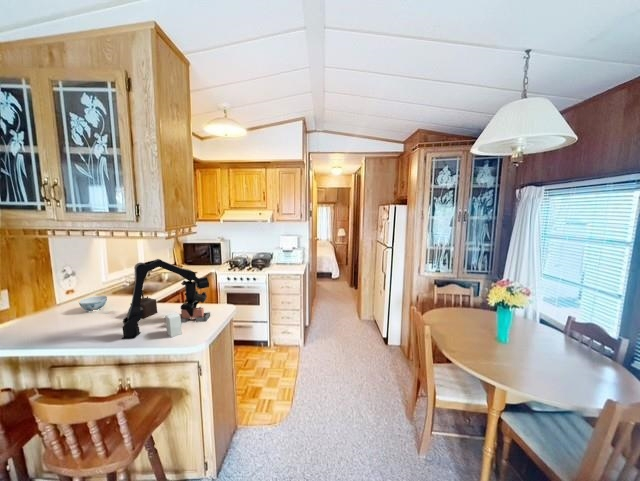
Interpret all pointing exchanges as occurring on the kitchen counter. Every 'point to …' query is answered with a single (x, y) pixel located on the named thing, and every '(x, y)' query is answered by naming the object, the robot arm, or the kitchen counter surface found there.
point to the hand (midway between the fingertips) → (192, 315)
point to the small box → (173, 324)
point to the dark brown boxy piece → (148, 306)
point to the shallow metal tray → (197, 318)
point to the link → (196, 313)
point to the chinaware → (93, 303)
